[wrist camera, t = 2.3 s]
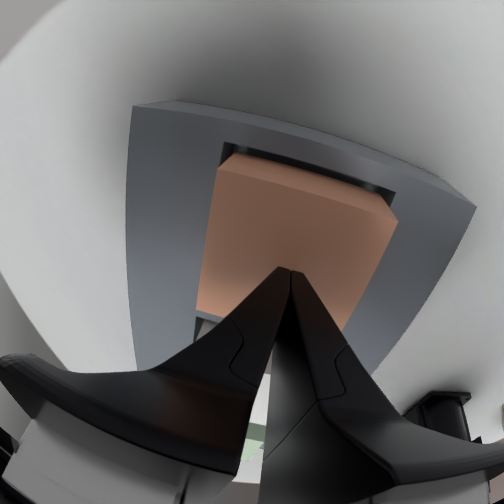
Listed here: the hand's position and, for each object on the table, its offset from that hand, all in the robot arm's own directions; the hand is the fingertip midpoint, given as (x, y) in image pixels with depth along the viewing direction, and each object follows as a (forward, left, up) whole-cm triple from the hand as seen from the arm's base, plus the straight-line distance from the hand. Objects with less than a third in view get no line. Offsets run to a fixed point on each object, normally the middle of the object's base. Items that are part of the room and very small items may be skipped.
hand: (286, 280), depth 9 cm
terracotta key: (0, 0, -3) cm, 3 cm away
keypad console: (0, +8, -6) cm, 11 cm away
